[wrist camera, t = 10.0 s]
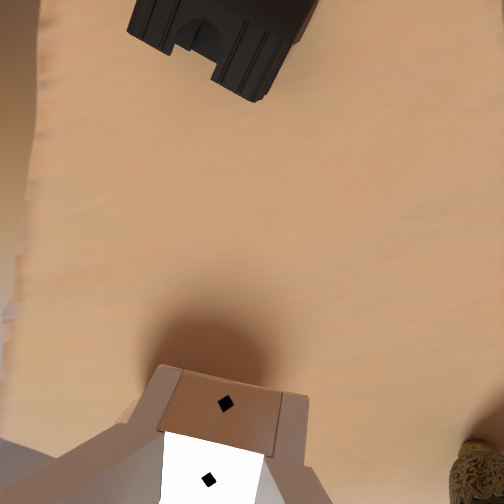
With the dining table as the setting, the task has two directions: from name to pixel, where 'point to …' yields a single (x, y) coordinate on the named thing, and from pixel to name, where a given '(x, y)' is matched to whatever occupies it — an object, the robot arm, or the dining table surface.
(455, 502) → the cup
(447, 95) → the dining table surface
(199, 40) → the end cap
